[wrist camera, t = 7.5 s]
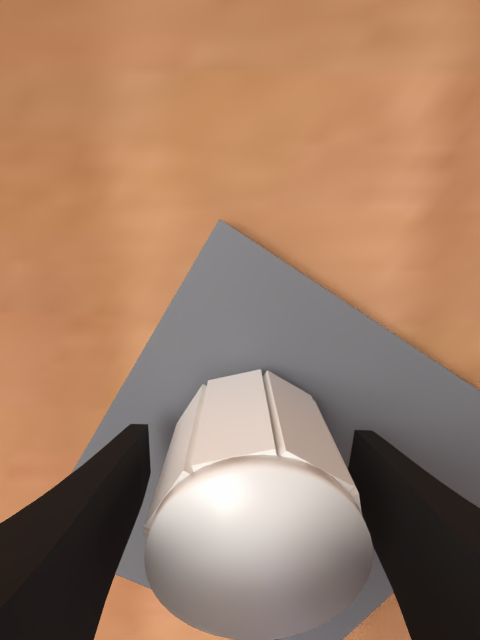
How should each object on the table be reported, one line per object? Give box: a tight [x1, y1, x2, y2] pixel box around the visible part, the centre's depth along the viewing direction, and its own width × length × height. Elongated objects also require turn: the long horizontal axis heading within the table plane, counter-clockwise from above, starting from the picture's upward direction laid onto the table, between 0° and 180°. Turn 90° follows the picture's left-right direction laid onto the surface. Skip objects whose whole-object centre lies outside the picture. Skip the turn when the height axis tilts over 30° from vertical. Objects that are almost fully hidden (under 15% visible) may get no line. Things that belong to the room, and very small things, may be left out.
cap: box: [143, 369, 373, 640], centre depth 9 cm, size 5×5×4 cm
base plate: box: [71, 219, 480, 640], centre depth 13 cm, size 16×16×1 cm
